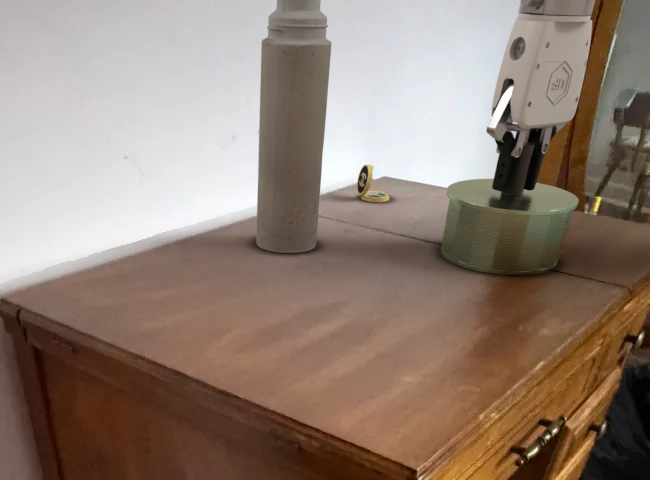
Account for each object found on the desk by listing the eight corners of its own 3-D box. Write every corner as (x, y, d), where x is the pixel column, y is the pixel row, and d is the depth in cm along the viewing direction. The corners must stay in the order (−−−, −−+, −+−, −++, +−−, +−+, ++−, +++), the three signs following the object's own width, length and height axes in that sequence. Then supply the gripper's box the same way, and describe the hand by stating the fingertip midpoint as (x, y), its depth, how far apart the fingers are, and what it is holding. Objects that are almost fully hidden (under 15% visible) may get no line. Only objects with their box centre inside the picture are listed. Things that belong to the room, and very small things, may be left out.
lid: (502, 182, 98) (515, 127, 94) (603, 209, 88) (621, 149, 84) (419, 197, 91) (428, 138, 87) (517, 228, 81) (533, 163, 77)
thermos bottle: (291, 231, 100) (306, -24, 82) (328, 247, 95) (351, -22, 77) (244, 240, 96) (249, -24, 79) (279, 257, 91) (293, -22, 74)
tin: (492, 233, 101) (504, 179, 97) (580, 262, 92) (598, 204, 87) (417, 249, 95) (426, 192, 90) (503, 283, 86) (519, 221, 81)
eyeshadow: (392, 201, 114) (397, 167, 110) (362, 202, 113) (366, 168, 110) (383, 194, 117) (387, 161, 114) (354, 195, 116) (357, 161, 113)
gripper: (535, 6, 71) (491, 205, 82) (633, 5, 78) (580, 188, 90) (477, 1, 76) (443, 191, 87) (574, 1, 83) (531, 176, 94)
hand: (513, 188), depth 88 cm, fingers closed on lid, 2 cm apart
